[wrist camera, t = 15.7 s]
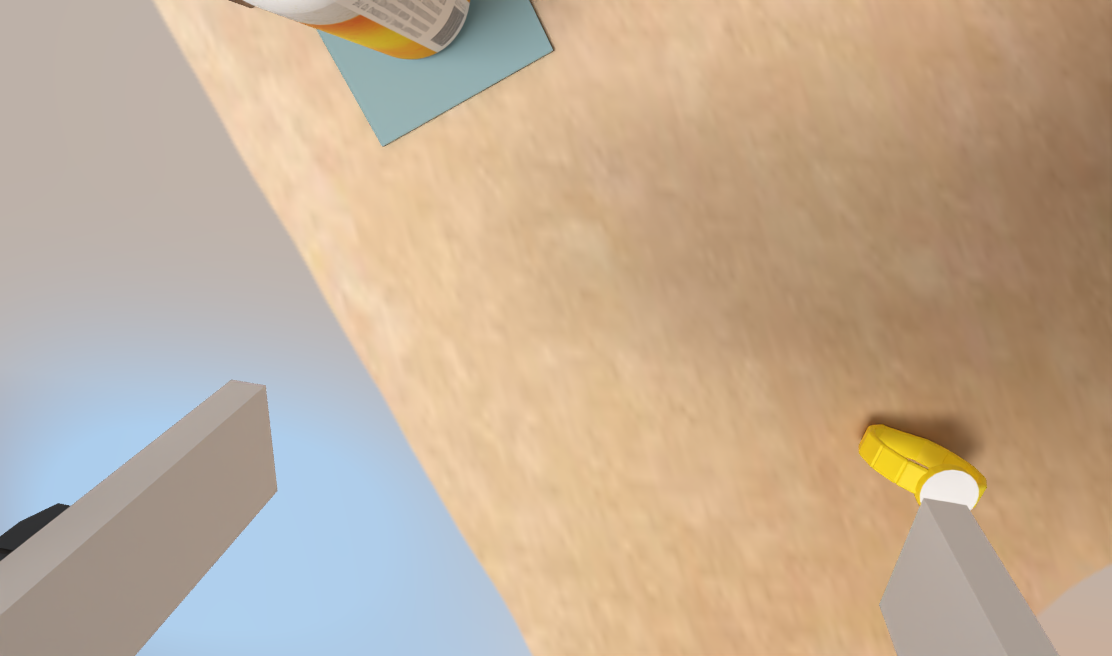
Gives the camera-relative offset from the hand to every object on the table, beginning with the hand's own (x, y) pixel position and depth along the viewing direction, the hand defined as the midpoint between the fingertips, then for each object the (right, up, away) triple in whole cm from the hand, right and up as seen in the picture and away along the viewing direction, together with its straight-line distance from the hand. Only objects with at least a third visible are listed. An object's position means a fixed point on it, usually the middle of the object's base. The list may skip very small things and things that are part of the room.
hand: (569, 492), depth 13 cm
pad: (-7, +19, +19) cm, 28 cm away
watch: (+19, -3, +24) cm, 31 cm away
